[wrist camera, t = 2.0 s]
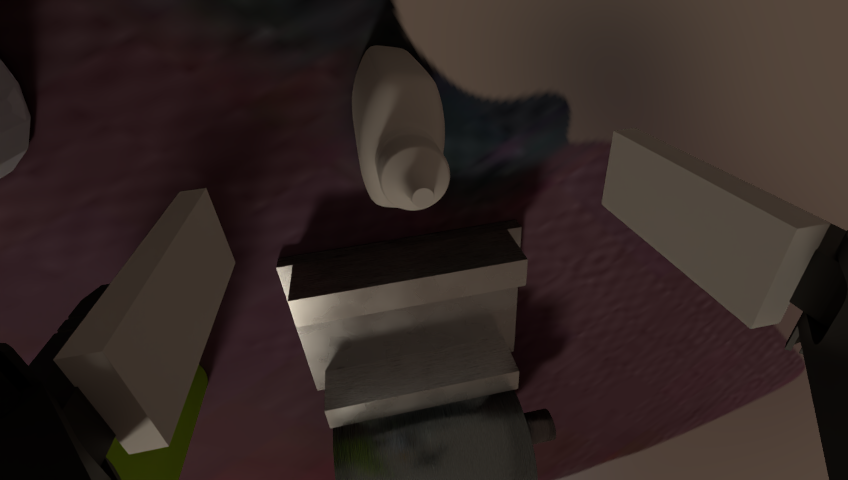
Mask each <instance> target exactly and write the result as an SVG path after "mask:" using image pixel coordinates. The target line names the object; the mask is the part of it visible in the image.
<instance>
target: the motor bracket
mask: <svg viewBox="0 0 848 480" xmlns="http://www.w3.org/2000/svg"><path fill="white" fill-rule="evenodd" d="M521 229H522V227H521V226H520V224H519V223H518V222H517V220H511V221H505V222H499V223H493V224H487V225H481V226H475V227H469V228H463V229H457V230H450V231H444V232H438V233H432V234H426V235H420V236H414V237H408V238H402V239H395V240H389V241H383V242H377V243H371V244H365V245H359V246H353V247H347V248H341V249H334V250H328V251H322V252H316V253H310V254H304V255H298V256H292V257H286V258H279V259H278V261H277V267H276V269H277V272H278V274H279V277H280V280H281V283H282V286H283V289H284V292H285V295H286V298H287V301H288V304H289V307H290V310H291V313H292V316H293V319H294V322H295V325H296V328H297V331H298V334H299V337H300V340H301V343H302V346H303V349H304V352H305V355H306V358H307V361H308V364H309V367H310V370H311V373H312V376H313V379H314V382H315V385H316V387H317V390H323V389H325V414H326V417H327V420H328V423H329V426H330V428H333V453H334V468H335V479H336V480H537V467H536V460H535V454H534V449H533V444H537V443H541V442H546V441H550V440H554V439H555V438H556V430H555V425H554V422H553V419H552V417H551V415H550V413H549V411H548V410H547V409H541V410H536V411H531V412H527V413H523V410H522V407H521V405H520V402H519V400H518V397H517V395H516V393H515V391H514V390H515V389H518V383H519V369H518V367H517V365H516V363H515V361H514V359H513V357H512V354H511V352H513V351H514V342H515V326H516V310H517V294H518V287H520V286H526V276H527V262H528V259H527V258H526V256H525V255H524V253H523V252H522V250H521V249H520V245H521Z"/></svg>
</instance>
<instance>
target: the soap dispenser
mask: <svg viewBox="0 0 848 480" xmlns="http://www.w3.org/2000/svg"><path fill="white" fill-rule="evenodd" d="M207 384H208V378H207V374H206V372H205V371H204V369H203V368H202V367H201V366H200V365H198V368H197V370H196V373H195V376H194V379H193V381H192V384H191V387H190V390H189V392H188V395H187V398H186V401H185V403H184V406H183V409H182V412H181V414H180V417H179V420H178V423H177V425H176V428H175V431H174V434H173V437H172V439H171V442H170V445H169V447H164V448H159V449H154V450H149V451H144V452H139V453H134V454H128V453H127V452H126V450H125V449H124V448H123V447H122V445H121V444H120V443H119V442H118V440H117V439H116V438H114V440H113V443H112V445H111V447H110V449H109V451H108V453H107V455H106V457H107V459H108V460H109V461H110V462H111V463H112V464H113V466H114V467H115V469H116V471H117V473H118V474H119V476H120V478H121V480H179V477H180V473H181V470H182V467H183V463H184V460H185V457H186V454H187V450H188V447H189V444H190V440H191V437H192V434H193V431H194V427H195V424H196V421H197V417H198V414H199V411H200V408H201V404H202V401H203V398H204V394H205V391H206V388H207Z"/></svg>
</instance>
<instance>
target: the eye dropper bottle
mask: <svg viewBox="0 0 848 480" xmlns="http://www.w3.org/2000/svg"><path fill="white" fill-rule="evenodd" d="M352 115H353V123H354V130H355V137H356V143H357V150H358V157H359V163H360V169H361V173H362V177H363V180H364V183H365V186H366V189H367V191H368V194H369V195H370V197H371V199H372V200H373V201H374V202H375V203H376V204H377V205H380V206H383V207H393V208H402V209H405V210H409V211H410V210H412V211H413V210H415V211H416V210H421V209H424V208H427V207H430V206H431V205H433V204H435V203H436V202H437V201H439V199H441V197H442V196H443V194H444V193H445V191H446V190H447V188H448V184H449V181H450V179H449V178H450V169H449V165H448V162H447V161H446V159H445V157H444V155H443V150H444V141H445V124H444V115H443V108H442V103H441V99H440V95H439V92H438V89H437V86H436V84H435V82H434V80H433V79H432V78H431V76H430V75H429V74H428V72H427V71H426V70H425V69H424V68H423V67H422V66H421V65H420V64H419V63H418V62H417V60H416V59H415V58H414V57H413V56H412V55H411V54H410V53H409V52H408V51H406V50H404V49H402V48H397V47H389V46H379V45H375V46H370V47H369V48H368V49H367V50H366V52H365V53H364V55H363V57H362V60H361V62H360V64H359V67H358V70H357V73H356V77H355V81H354V86H353V93H352Z"/></svg>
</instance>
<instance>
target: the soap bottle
mask: <svg viewBox="0 0 848 480" xmlns="http://www.w3.org/2000/svg"><path fill="white" fill-rule="evenodd" d="M30 120H31V116H30V113H29V111H28V108H27V105H26V102H25V99H24V97H23V94H22V91H21V88H20V85H19V83H18V82H17V80H16V79H15V78H14V76H13V75H12V74H11V72H10V71H9V70H8V68H7V67H6V66H5V64H4V63H3V62H2V60H1V59H0V178H2V177H3V176H5V175H7V174H8V173H10V172H12V171H13V170H14V168H15V167H16V165H17V164H18V162H19V161H20V159H21V158H22V157H23V155H24V154H25V152H26V151H27V149H28V146H29V133H30Z"/></svg>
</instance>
